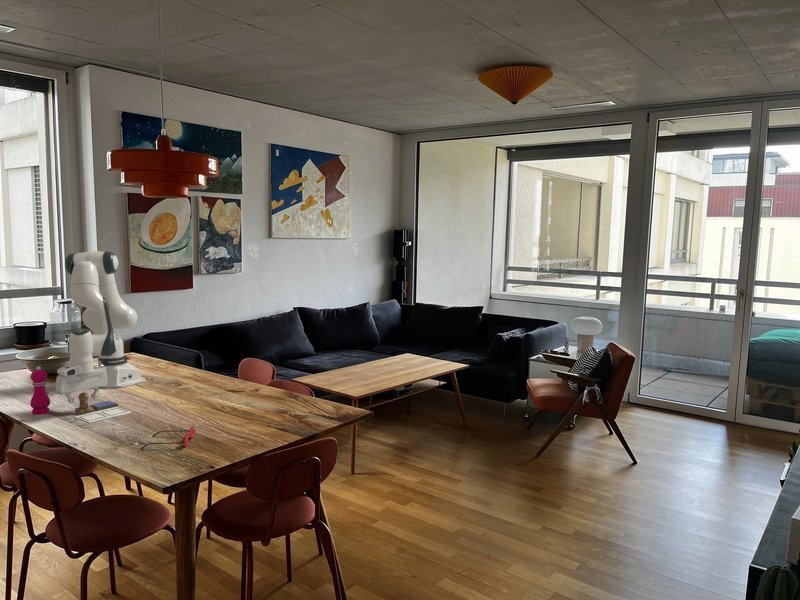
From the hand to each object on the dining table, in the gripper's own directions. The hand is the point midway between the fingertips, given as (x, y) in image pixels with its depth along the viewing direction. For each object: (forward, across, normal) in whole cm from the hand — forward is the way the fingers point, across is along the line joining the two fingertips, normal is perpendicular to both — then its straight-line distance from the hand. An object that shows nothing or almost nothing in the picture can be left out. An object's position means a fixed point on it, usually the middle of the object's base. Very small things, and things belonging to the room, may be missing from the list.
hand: (82, 400), depth 254 cm
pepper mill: (+6, +12, -12) cm, 18 cm away
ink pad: (+5, -10, -1) cm, 11 cm away
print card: (+5, -4, +10) cm, 12 cm away
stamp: (+5, 0, 0) cm, 5 cm away
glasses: (+6, -2, +59) cm, 59 cm away
